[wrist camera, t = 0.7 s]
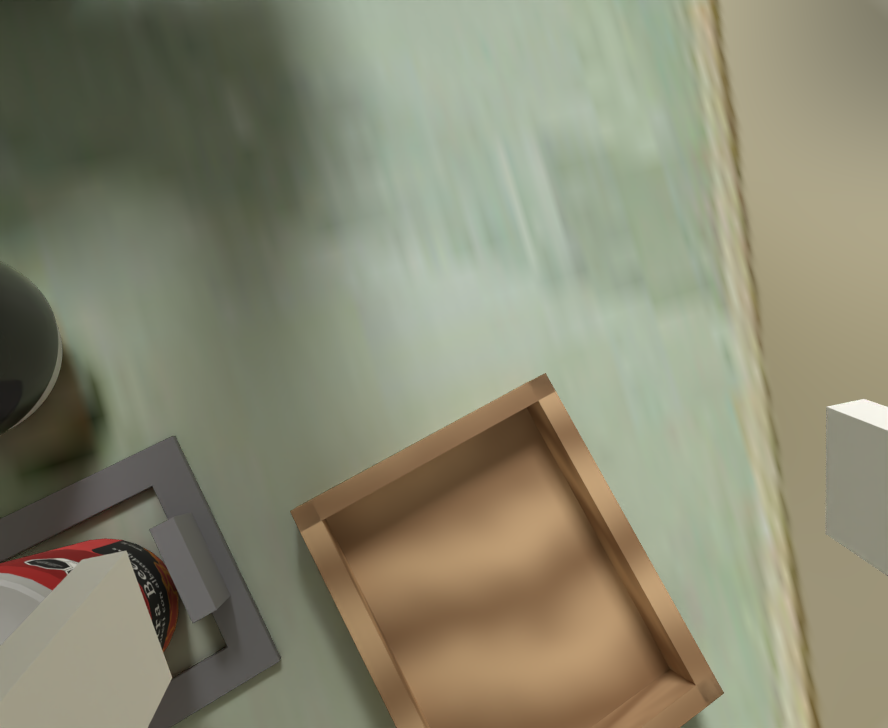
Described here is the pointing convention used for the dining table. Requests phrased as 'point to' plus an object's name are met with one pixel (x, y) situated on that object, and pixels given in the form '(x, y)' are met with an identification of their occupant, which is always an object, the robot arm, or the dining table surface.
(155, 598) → the canned food
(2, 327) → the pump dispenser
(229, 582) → the frame
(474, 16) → the dining table surface
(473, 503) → the tray
